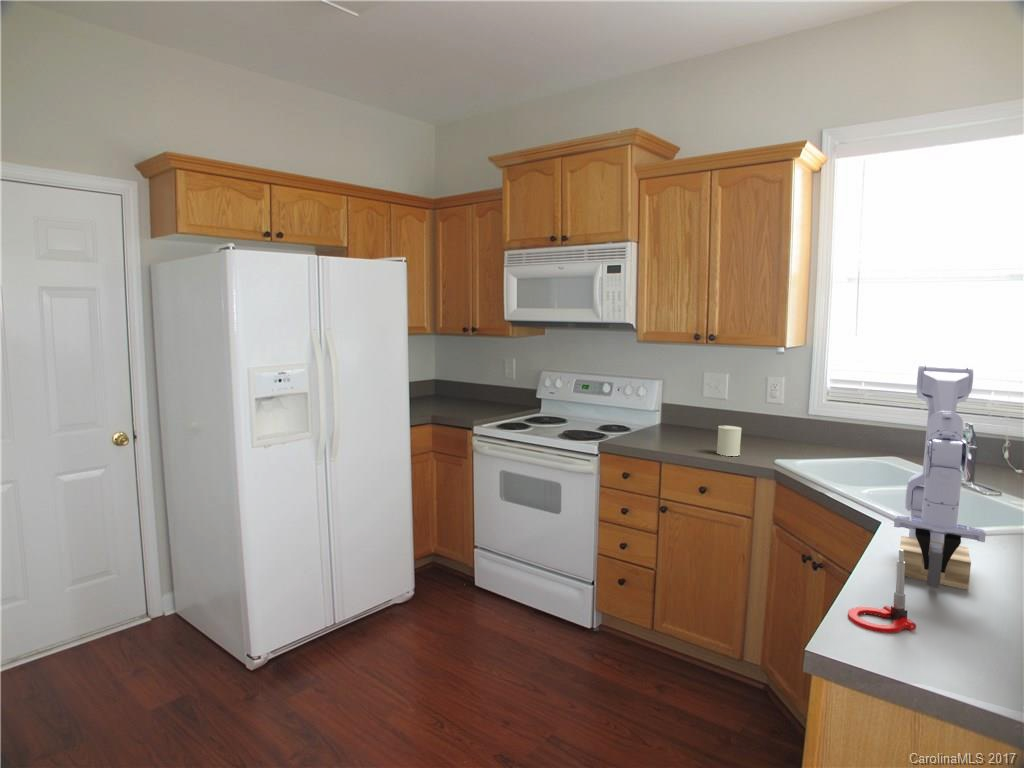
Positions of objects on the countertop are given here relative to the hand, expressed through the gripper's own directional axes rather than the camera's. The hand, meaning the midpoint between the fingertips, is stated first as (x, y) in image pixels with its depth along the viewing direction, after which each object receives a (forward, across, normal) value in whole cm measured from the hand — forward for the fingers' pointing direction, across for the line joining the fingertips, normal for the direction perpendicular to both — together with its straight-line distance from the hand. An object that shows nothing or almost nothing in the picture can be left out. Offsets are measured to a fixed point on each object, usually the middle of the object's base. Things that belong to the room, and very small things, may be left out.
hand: (934, 569), depth 122 cm
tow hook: (+5, -8, -22) cm, 24 cm away
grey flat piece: (+3, 0, 0) cm, 3 cm away
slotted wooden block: (+4, 0, +11) cm, 12 cm away
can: (+5, -69, +117) cm, 136 cm away
